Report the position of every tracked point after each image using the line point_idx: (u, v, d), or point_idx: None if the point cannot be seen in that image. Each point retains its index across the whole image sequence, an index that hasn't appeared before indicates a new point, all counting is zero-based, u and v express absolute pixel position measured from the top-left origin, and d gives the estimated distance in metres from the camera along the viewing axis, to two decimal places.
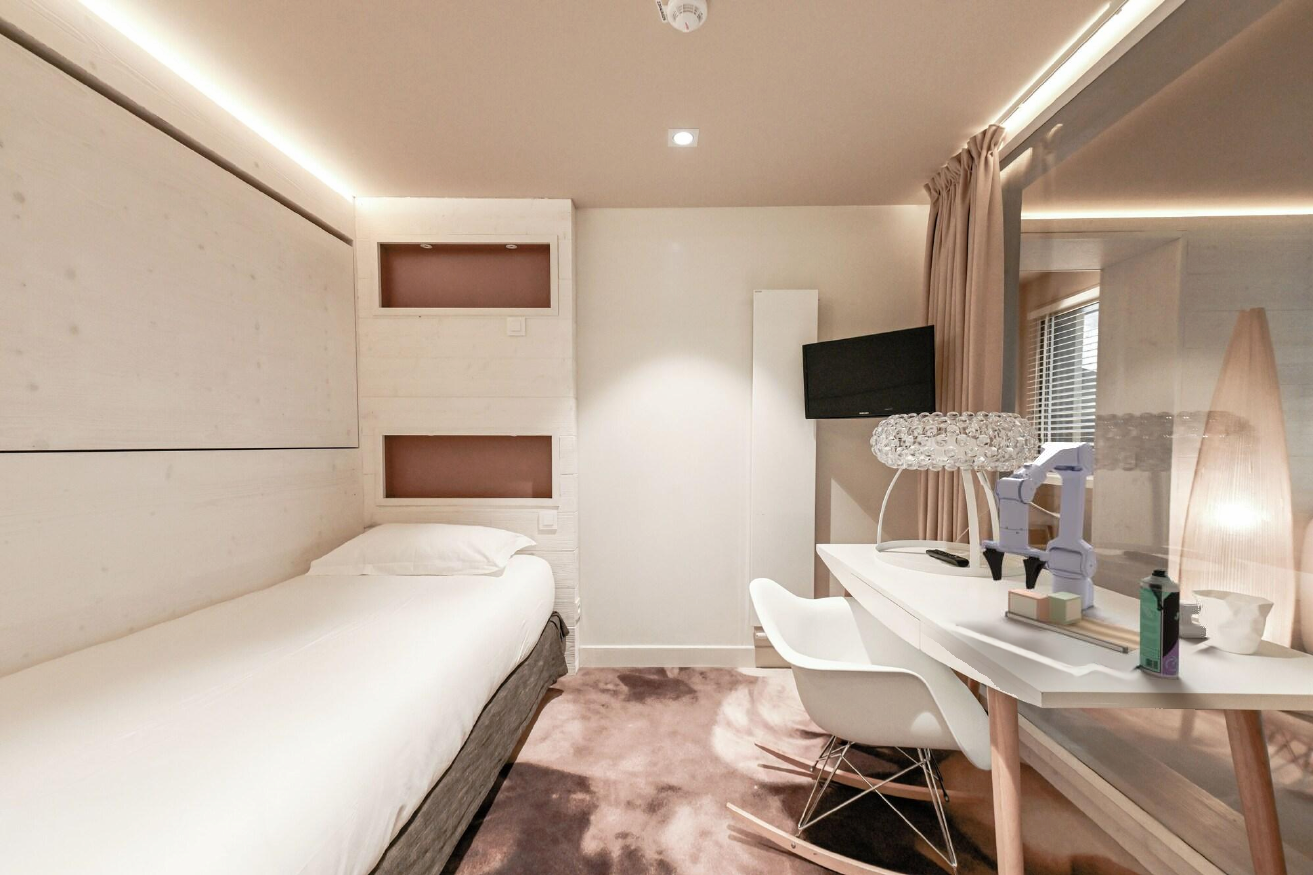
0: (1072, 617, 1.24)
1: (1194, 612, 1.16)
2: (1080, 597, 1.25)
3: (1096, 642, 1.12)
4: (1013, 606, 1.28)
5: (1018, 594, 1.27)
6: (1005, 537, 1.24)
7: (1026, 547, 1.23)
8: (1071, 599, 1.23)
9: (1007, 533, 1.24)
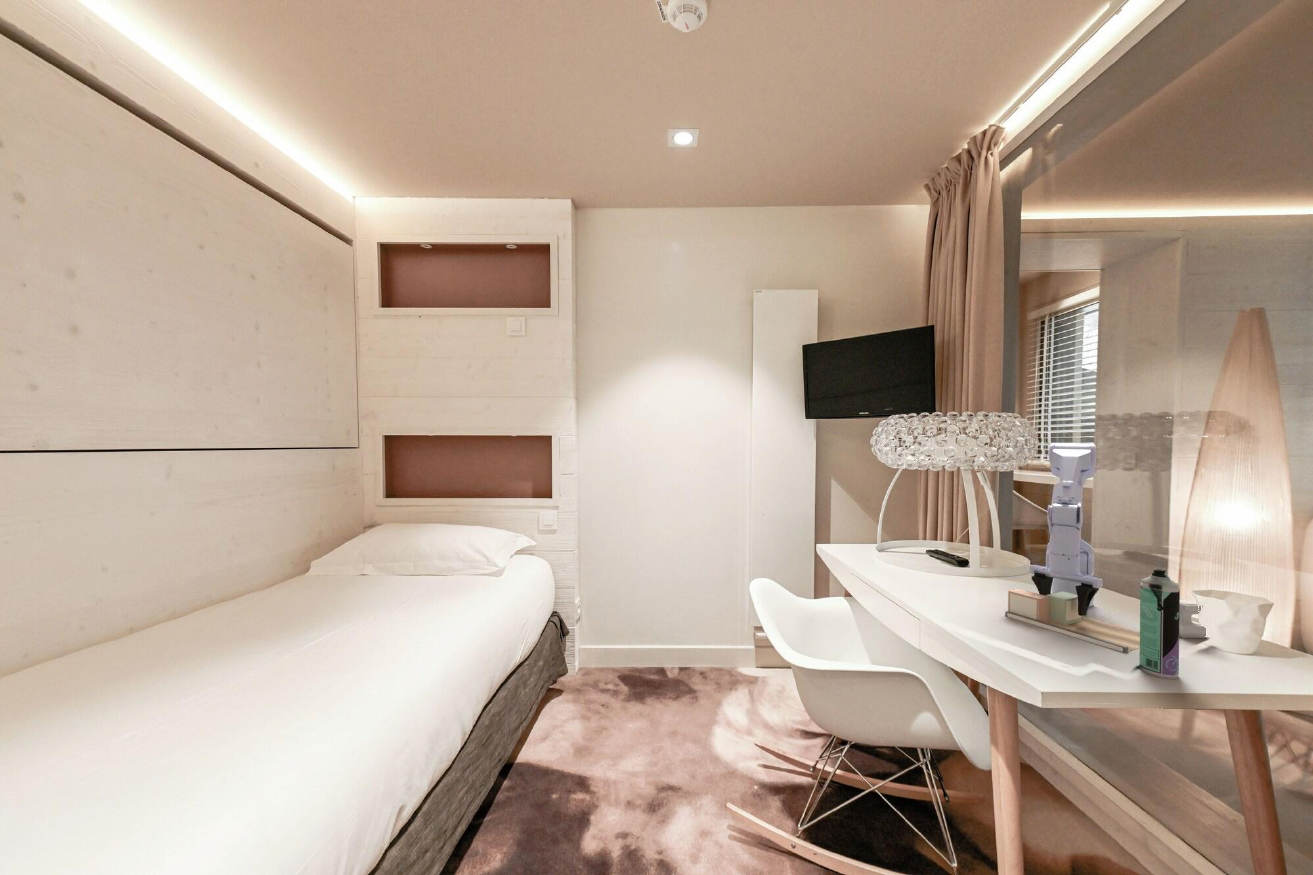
0: (1072, 617, 1.24)
1: (1194, 612, 1.16)
2: None
3: (1096, 642, 1.12)
4: (1013, 606, 1.28)
5: (1018, 594, 1.27)
6: (1057, 562, 1.24)
7: (1078, 573, 1.23)
8: (1071, 599, 1.23)
9: (1058, 559, 1.24)
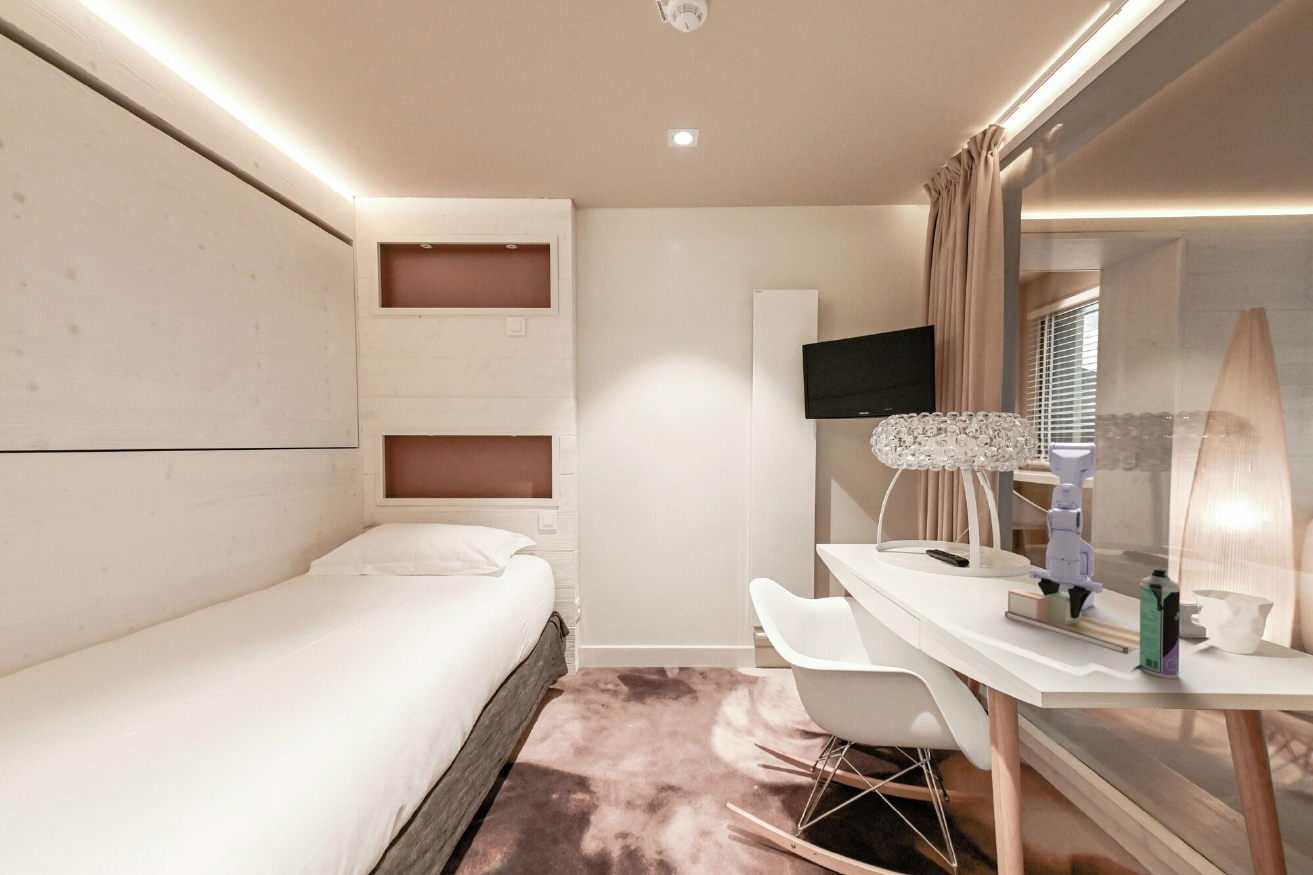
0: None
1: (1194, 612, 1.16)
2: None
3: (1096, 642, 1.12)
4: (1013, 606, 1.28)
5: (1018, 594, 1.27)
6: (1057, 567, 1.24)
7: (1078, 578, 1.23)
8: None
9: (1058, 564, 1.24)
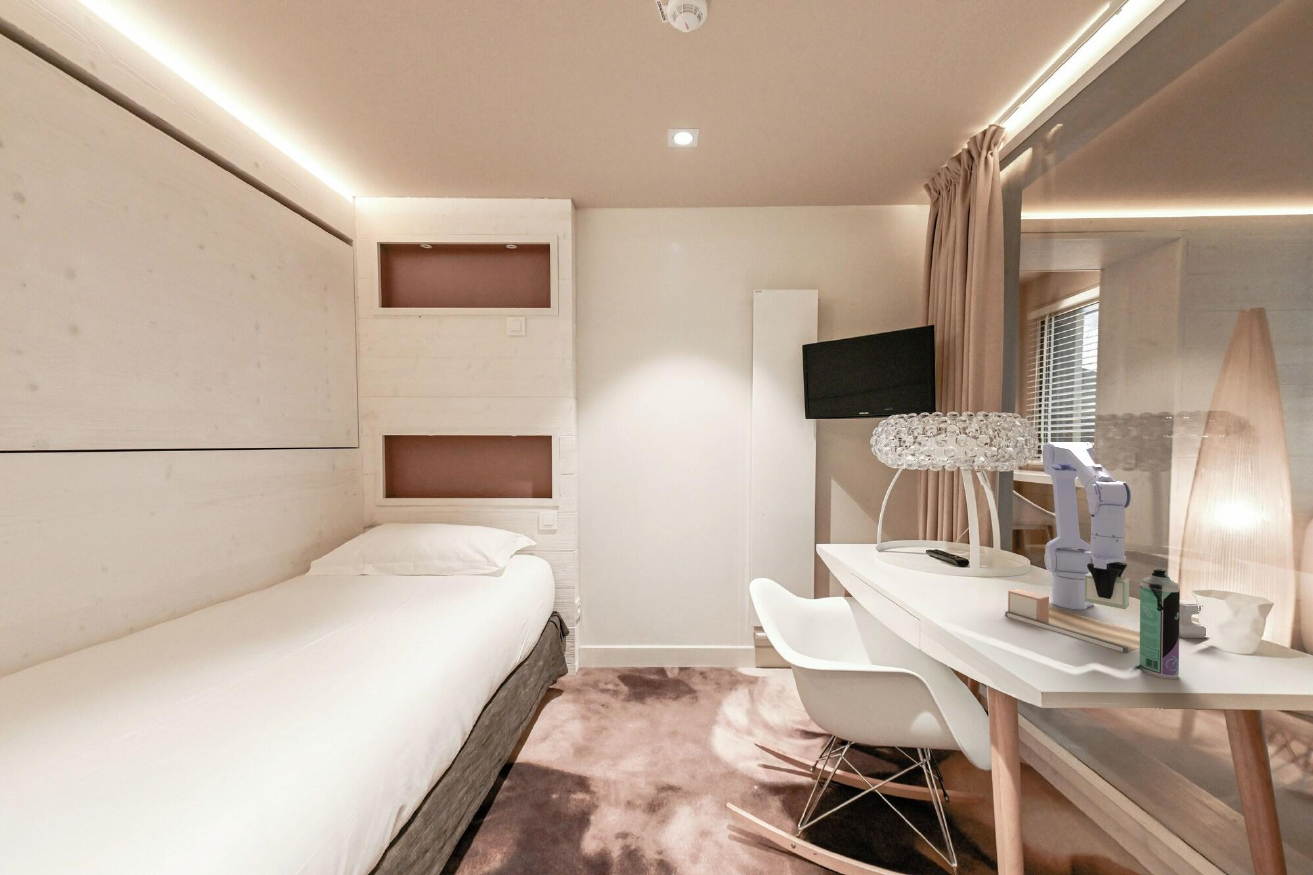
0: (1102, 598, 1.16)
1: (1194, 612, 1.16)
2: (1122, 582, 1.13)
3: (1096, 642, 1.12)
4: (1013, 606, 1.28)
5: (1018, 594, 1.27)
6: None
7: (1105, 555, 1.15)
8: None
9: (1091, 538, 1.19)
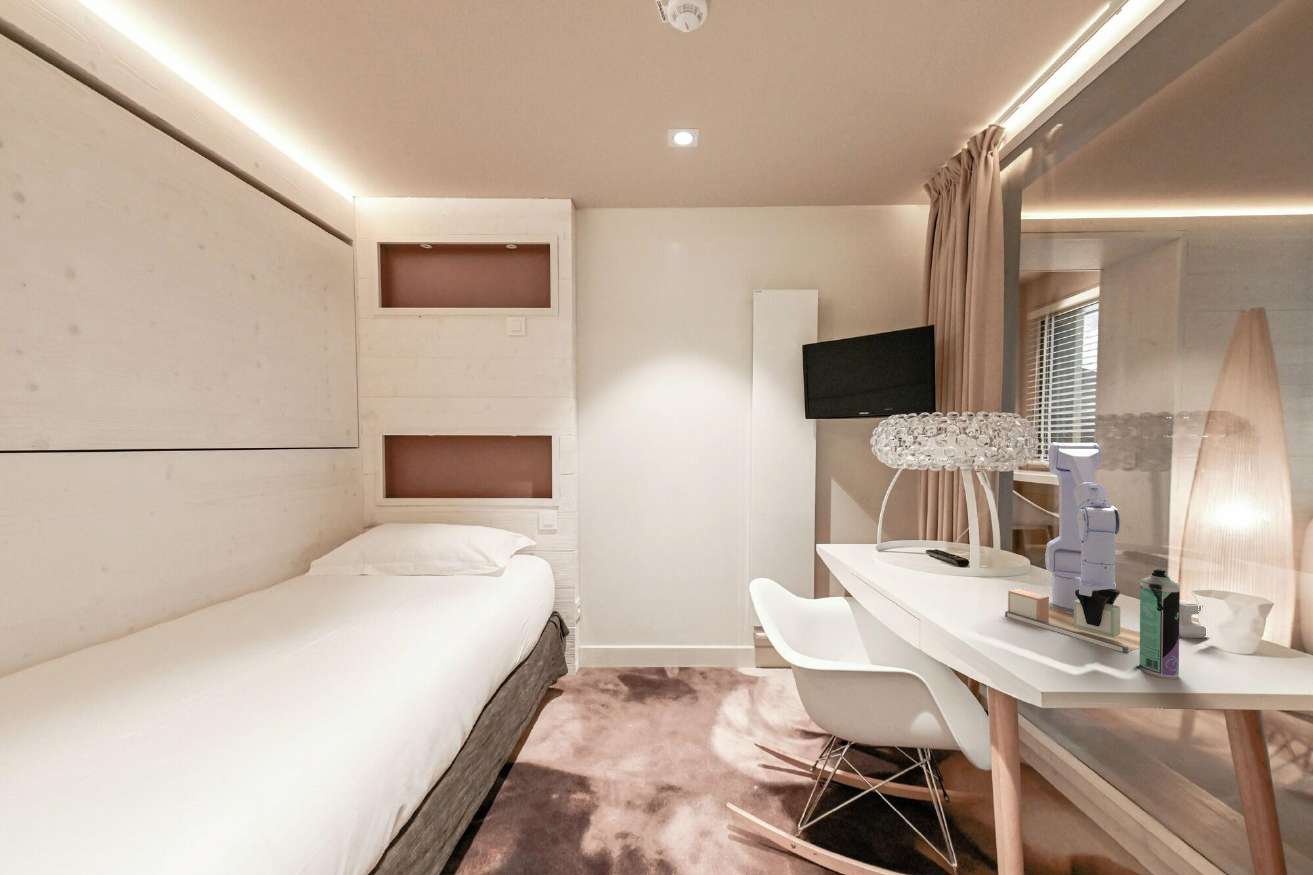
0: (1091, 625, 1.15)
1: (1194, 612, 1.16)
2: (1110, 610, 1.12)
3: (1096, 642, 1.12)
4: (1013, 606, 1.28)
5: (1018, 594, 1.27)
6: None
7: (1093, 582, 1.14)
8: None
9: None
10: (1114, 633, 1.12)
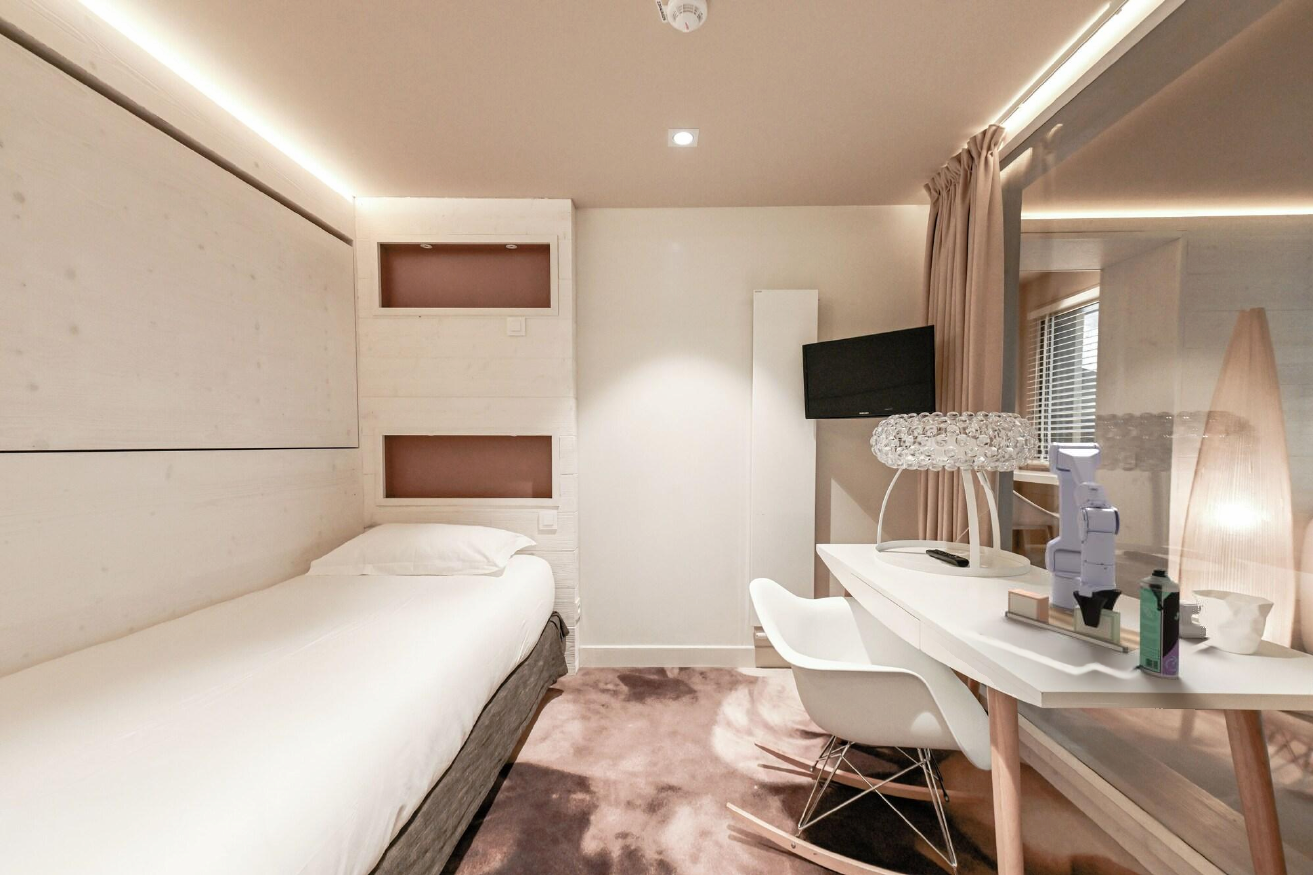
0: (1091, 631, 1.15)
1: (1194, 612, 1.16)
2: (1110, 616, 1.12)
3: (1096, 642, 1.12)
4: (1013, 606, 1.28)
5: (1018, 594, 1.27)
6: None
7: (1093, 582, 1.14)
8: None
9: None
10: (1114, 639, 1.12)
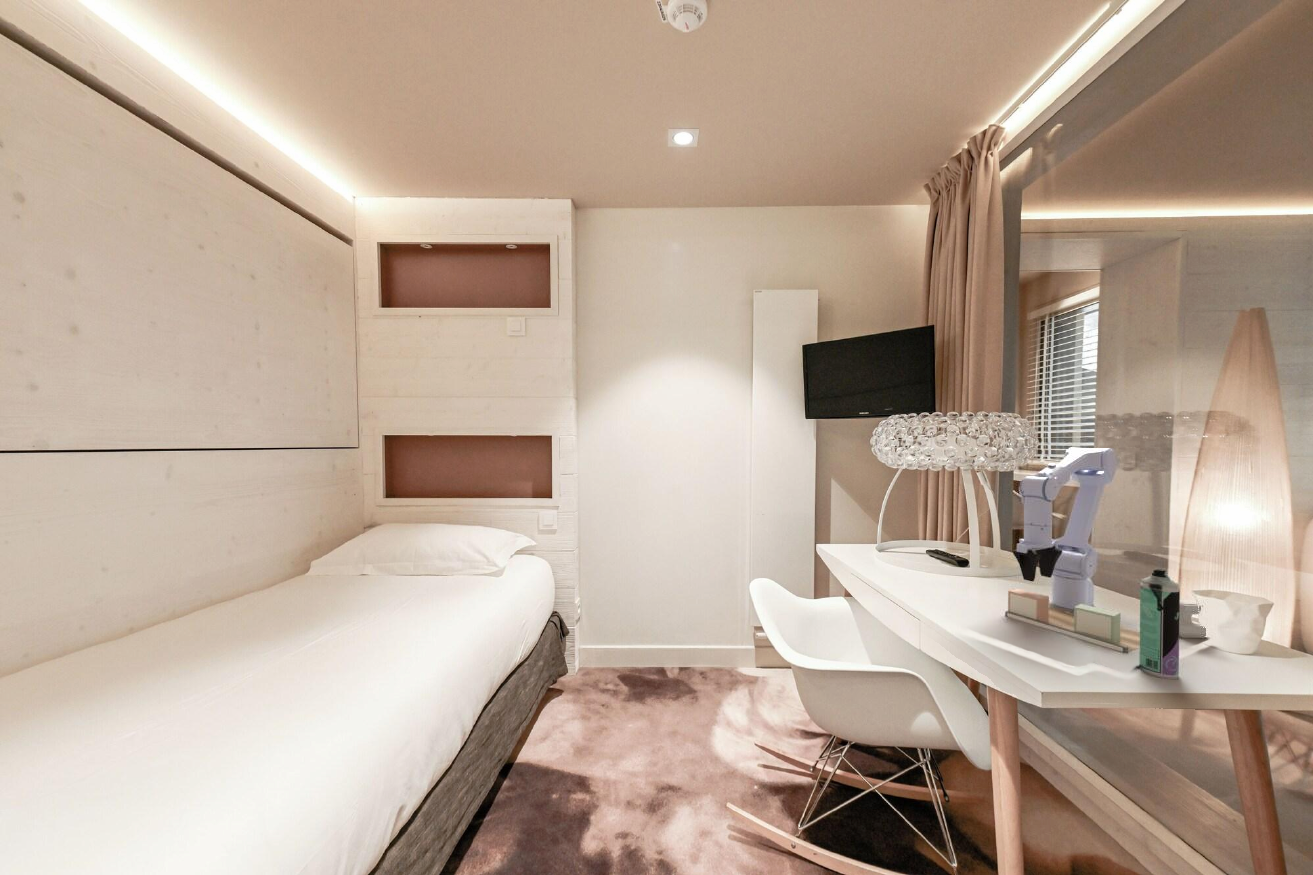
0: (1091, 631, 1.15)
1: (1194, 612, 1.16)
2: (1110, 616, 1.12)
3: (1096, 642, 1.12)
4: (1013, 606, 1.28)
5: (1018, 594, 1.27)
6: None
7: (1031, 542, 1.29)
8: (1088, 611, 1.15)
9: None
10: (1114, 639, 1.12)
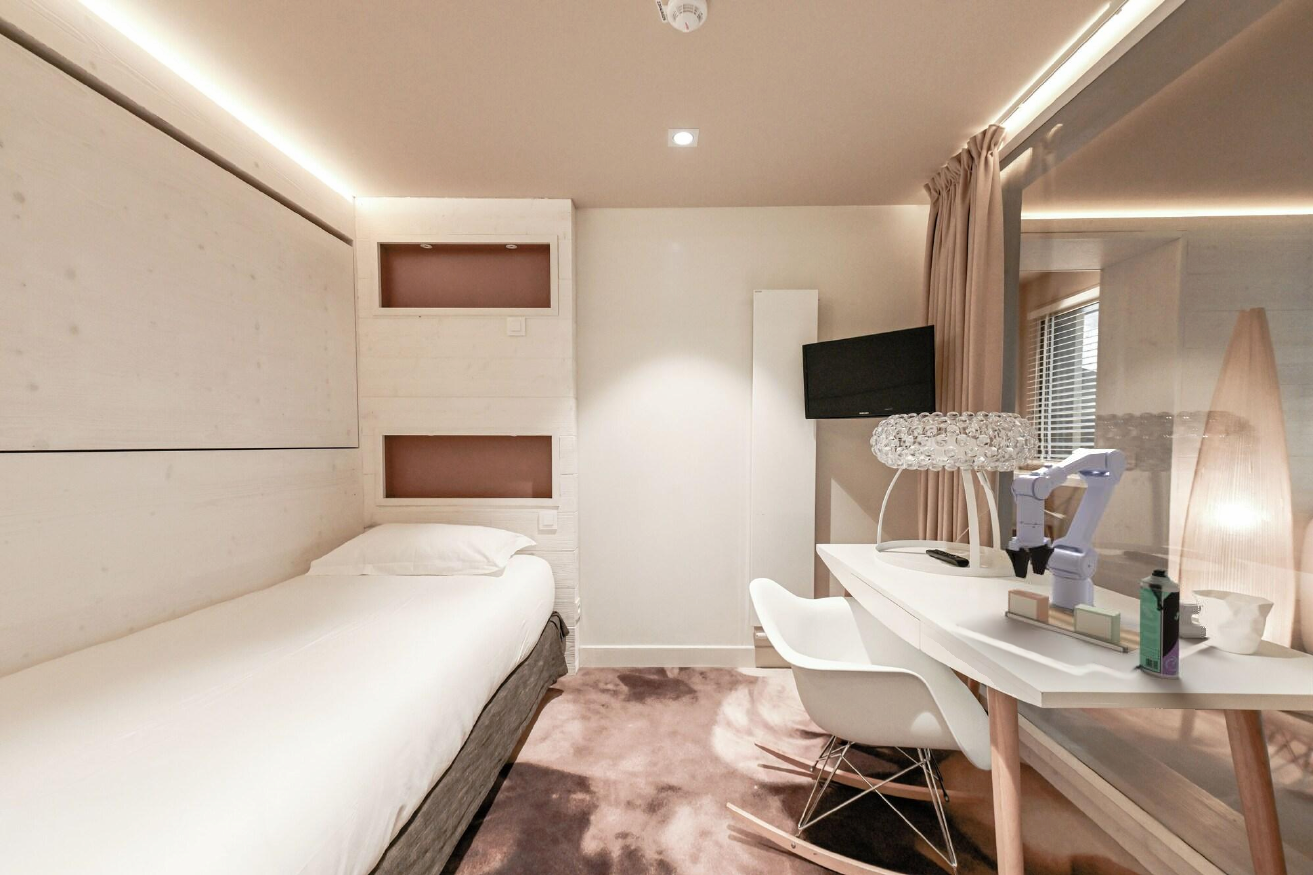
0: (1091, 631, 1.15)
1: (1194, 612, 1.16)
2: (1110, 616, 1.12)
3: (1096, 642, 1.12)
4: (1013, 606, 1.28)
5: (1018, 594, 1.27)
6: None
7: (1023, 539, 1.32)
8: (1088, 611, 1.15)
9: None
10: (1114, 639, 1.12)
